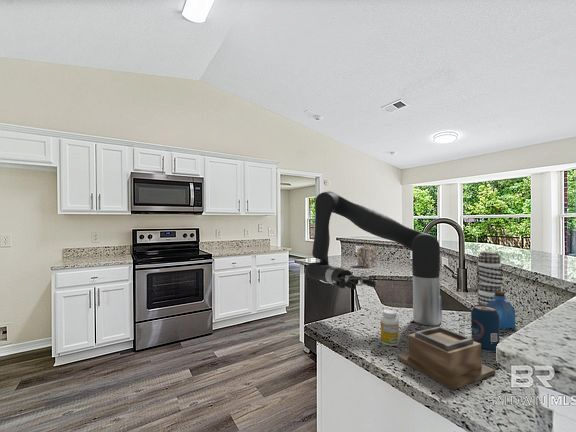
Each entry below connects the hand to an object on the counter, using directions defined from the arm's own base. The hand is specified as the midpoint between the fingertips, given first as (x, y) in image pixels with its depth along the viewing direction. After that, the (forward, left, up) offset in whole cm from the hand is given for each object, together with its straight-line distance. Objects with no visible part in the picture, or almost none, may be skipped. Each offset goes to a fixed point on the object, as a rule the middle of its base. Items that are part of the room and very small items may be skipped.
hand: (365, 285), depth 99 cm
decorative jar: (-94, -111, -16) cm, 146 cm away
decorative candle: (-60, +7, -16) cm, 62 cm away
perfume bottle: (-47, +17, -16) cm, 53 cm away
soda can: (-23, +26, -16) cm, 38 cm away
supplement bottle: (0, +11, -16) cm, 19 cm away
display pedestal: (-2, +28, -16) cm, 32 cm away
